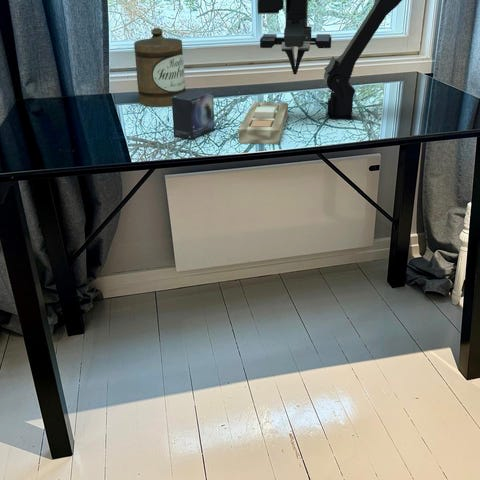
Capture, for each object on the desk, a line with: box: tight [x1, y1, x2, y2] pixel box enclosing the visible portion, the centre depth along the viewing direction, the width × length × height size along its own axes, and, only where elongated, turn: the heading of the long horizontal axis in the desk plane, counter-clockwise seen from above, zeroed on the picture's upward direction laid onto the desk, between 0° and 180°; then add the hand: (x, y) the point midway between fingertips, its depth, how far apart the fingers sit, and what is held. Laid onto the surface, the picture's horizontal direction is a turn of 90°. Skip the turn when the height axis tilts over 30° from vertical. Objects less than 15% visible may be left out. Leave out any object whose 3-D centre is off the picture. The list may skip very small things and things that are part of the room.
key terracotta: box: [251, 120, 272, 127], centre depth 143 cm, size 5×5×2 cm
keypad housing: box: [238, 101, 289, 145], centre depth 150 cm, size 10×26×4 cm, turn 171°
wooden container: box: [133, 27, 187, 108], centre depth 174 cm, size 15×15×22 cm
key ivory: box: [254, 107, 275, 119], centre depth 149 cm, size 5×5×2 cm
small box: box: [171, 88, 215, 140], centre depth 146 cm, size 11×6×10 cm, turn 148°
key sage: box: [260, 105, 278, 111], centre depth 156 cm, size 5×5×2 cm
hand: (295, 74), depth 154 cm, fingers closed
